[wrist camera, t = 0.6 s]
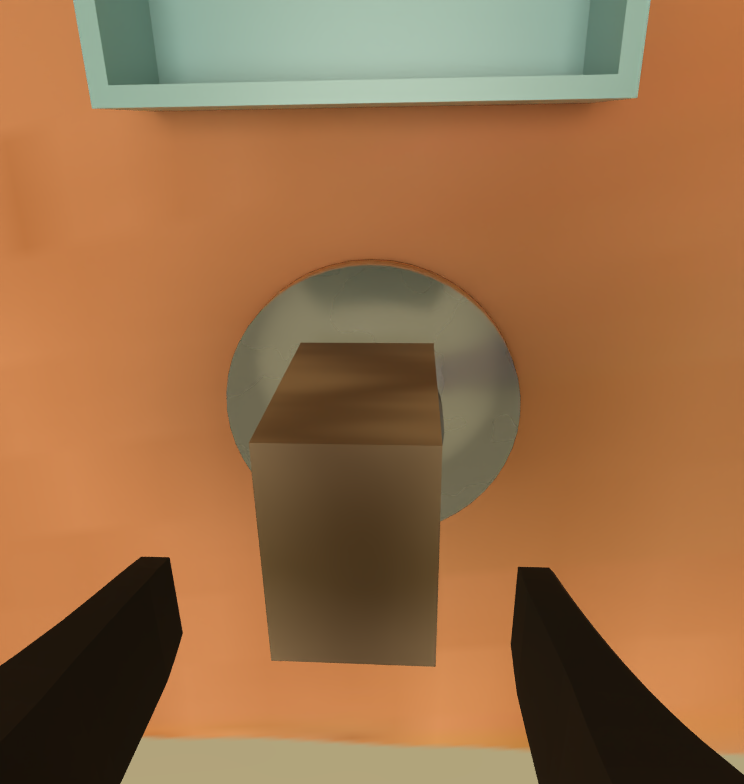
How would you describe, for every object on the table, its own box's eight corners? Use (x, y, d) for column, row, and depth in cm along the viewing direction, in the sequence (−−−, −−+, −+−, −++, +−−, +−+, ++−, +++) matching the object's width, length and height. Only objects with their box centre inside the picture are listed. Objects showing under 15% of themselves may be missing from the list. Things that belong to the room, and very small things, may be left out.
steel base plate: (527, 258, 20) (532, 265, 19) (506, 521, 24) (509, 537, 23) (219, 259, 21) (210, 266, 20) (247, 515, 25) (241, 530, 24)
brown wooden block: (444, 328, 20) (462, 446, 13) (440, 489, 22) (452, 667, 15) (296, 327, 20) (229, 442, 13) (306, 486, 23) (255, 659, 15)
